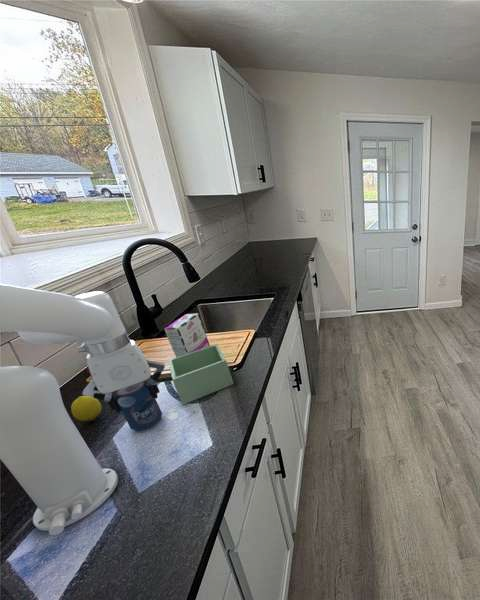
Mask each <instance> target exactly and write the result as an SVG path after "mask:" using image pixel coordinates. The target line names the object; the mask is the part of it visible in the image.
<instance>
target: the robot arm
mask: <svg viewBox="0 0 480 600" xmlns="http://www.w3.org/2000/svg"><path fill="white" fill-rule="evenodd" d="M117 310H118V309H117V308H116V306H115V304H114V301H113V299H112V298H111V295H110V294H109V293H107V292H105V291H100V290H99V291H98V290H97V291H90V292H84V293H80V294H77V295H74V296H73V295H69V294H65V293H60V292H54V291H49V290H43V289H42V290H41V289H37V288H29V287H23V286H17V285H12V284H5V283H0V333H17V335H18V336H19V338H21V340H23V341H25V342H26V343H29V344H33V345H42V346H46V345H47V346H49V345H59V344H60V345H61V344H69V343H71V344H72V343H79V342H80V343H82V342H83V344H82V345H80V346H77V347H76V349H77V351H78V353H83V352H84V353H85V352H86V353H87V354H86V356H85V357H86V358H85V359H86V363H87V366H88V367H89V370H90V373H91V375H90V376H91V378H92V379H91V381H90V382H89V383H88V384H87V385H86V386H85V387H84V388H83V390H82V396H89V397H94V398H95V399H97V400H101V401H104V402H107V403H108V406H109V407H110V409H111V411H115V412H116V414H120V413H122V411H121V409H120V407H119V405H118V403H117V401H116V396H117V394H115V393H114V392H116V391H117V390H119V389H122V388H125V387H128V386H131V385H134V384H137V383H139V382H142V381H144V382H145V383H146V384H148V385H149V388H150V391H151V393H152V395H153V397H154V399H156V400H157V399H158V398H159V397H158V394H159V393H161V392H160V391H161V390H160V388H159V386H158V384H157V382H158V380H159V379H160V377H161V375H162V373H163V372H164V370H165V367H166V365H165V364H166V363H164V362H159V361H153V360H148V359H147V358H146V356H145V354H144V352H143V350H142V349H141V347H140V346H139V345H138V343H137V342H136V341H135V340H133V339H131V338H130V336H129V334H128V332H127V330H126V328H125V325H124V323H123V321H122V319H121V317H120V315H119V312H118V311H117ZM151 368H152V369H155V371H154V373H152V370H151ZM90 373H89V374H90ZM59 385H60V384H59V382H58V380H57V378H56V377H55V376H54V374H52V373H51V372H50V371H48V370H46V369H44V368H41V367H38V366H31V365H10V366H9V365H7V366H0V461H1V462H2V463H3V464H4V466H5V467H6V468H7V469H8V471H9V472H10V473H11V474H12V475H13V477H14V479H15V480H16V481H17V482H18V483H19V485H20V486H21V488H22V489H23V490H24V491H25V493H26V494H27V495H28V496H29V498H30V499H31V500H32V501H33V503H34V505H35V506H36V507H37V508H36V510H35V512H34V513H33V516H32V523H33V525H34V526H35V528H37V529H38V530H39V531H43V532H44V531H45V532H48V535H49V536H58V535H60V534H61V533H63V532H64V530H65V527H68V526H71V525H72V524H75V523H77V522H78V521H81V520H82V519H84V518H85V517H87V516H89V515H90V514H91V513H93V512H94V511H96V510H97V509H98V508H99V507H100V506H101V505H103V504H104V503H105V502H106V501H107V499H109V498H110V497H111V495H112V494H113V492H114V491H115V489H116V488H117V487H118V483H119V476H118V474H117V472H116V470H115V469H111V468H107V467H106V468H102V467H101V466H100V464H99V462H98V461H97V459H96V458H95V456H94V454H93V453H92V451H91V449H90V448H89V446H88V444H87V443H86V441H85V440H84V437H82V434H81V432H79V429H78V428H77V426H76V425H75V423H74V421H73V420H72V418H71V417H70V415H69V413H68V411H67V409H66V407H65V404H64V402H63V401H64V400H63V398H62V394H61V390H60V386H59ZM95 388H96V389H97V390H96V389H95Z"/></svg>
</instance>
